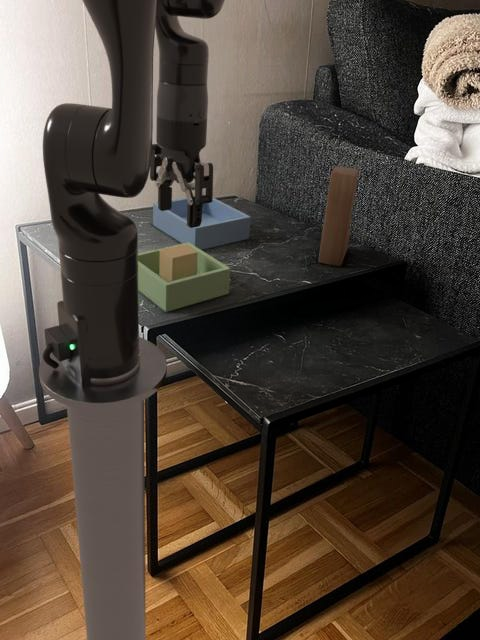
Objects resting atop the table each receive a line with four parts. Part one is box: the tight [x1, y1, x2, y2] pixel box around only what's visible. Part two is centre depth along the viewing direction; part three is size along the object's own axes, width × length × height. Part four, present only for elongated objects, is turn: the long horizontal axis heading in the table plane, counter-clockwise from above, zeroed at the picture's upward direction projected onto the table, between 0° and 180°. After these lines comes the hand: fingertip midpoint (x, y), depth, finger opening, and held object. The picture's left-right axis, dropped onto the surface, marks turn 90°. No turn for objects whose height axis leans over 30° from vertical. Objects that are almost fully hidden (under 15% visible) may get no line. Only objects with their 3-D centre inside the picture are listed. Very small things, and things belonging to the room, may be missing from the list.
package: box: [159, 243, 198, 282], centre depth 103 cm, size 5×4×6 cm
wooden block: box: [318, 165, 360, 267], centre depth 117 cm, size 9×4×18 cm, turn 163°
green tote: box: [138, 242, 231, 313], centre depth 104 cm, size 13×13×5 cm
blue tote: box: [152, 193, 252, 251], centre depth 126 cm, size 14×16×5 cm
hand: (179, 218), depth 98 cm, fingers open, 8 cm apart
